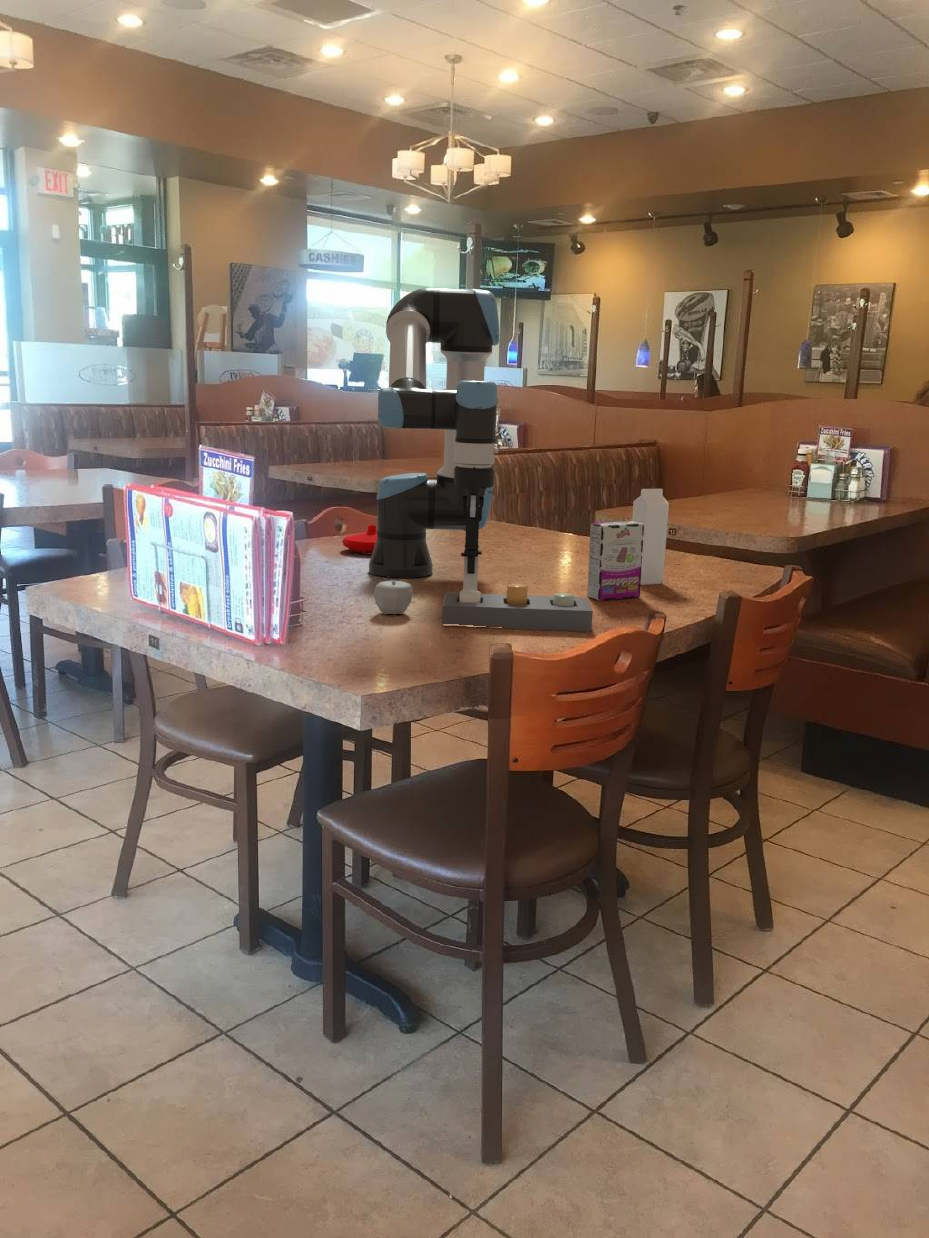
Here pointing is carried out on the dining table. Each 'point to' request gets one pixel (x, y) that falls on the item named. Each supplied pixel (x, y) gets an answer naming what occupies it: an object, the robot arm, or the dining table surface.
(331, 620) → the dining table surface
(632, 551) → the candy bar box
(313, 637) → the dining table surface
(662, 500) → the milk
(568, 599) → the button sage
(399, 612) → the apple
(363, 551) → the red disc with nozzle
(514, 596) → the button amber
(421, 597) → the dining table surface
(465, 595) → the button ivory
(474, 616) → the block
